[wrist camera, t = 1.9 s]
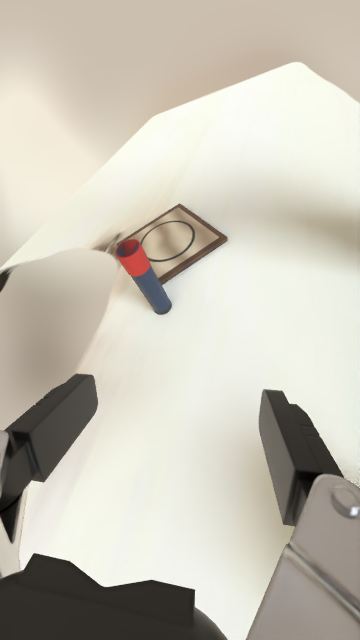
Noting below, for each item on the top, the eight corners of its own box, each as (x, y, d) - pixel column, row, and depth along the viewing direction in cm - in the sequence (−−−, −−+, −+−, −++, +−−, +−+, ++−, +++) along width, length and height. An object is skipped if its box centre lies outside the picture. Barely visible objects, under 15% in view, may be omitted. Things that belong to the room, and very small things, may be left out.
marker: (166, 295, 34) (133, 234, 24) (175, 307, 32) (144, 247, 22) (150, 306, 34) (111, 249, 24) (159, 318, 32) (120, 262, 22)
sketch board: (180, 206, 45) (179, 202, 44) (227, 240, 36) (227, 236, 36) (118, 246, 44) (115, 243, 43) (151, 291, 35) (149, 288, 34)
